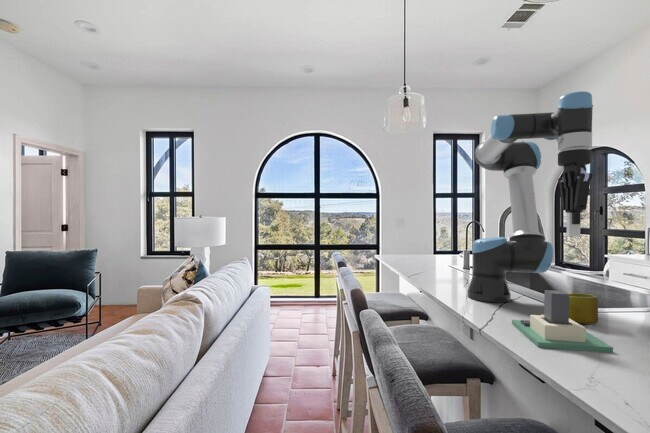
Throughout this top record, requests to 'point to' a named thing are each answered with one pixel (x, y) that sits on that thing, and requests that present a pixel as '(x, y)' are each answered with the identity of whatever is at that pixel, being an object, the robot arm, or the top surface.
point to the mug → (583, 308)
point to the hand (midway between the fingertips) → (573, 236)
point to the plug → (556, 307)
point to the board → (564, 344)
